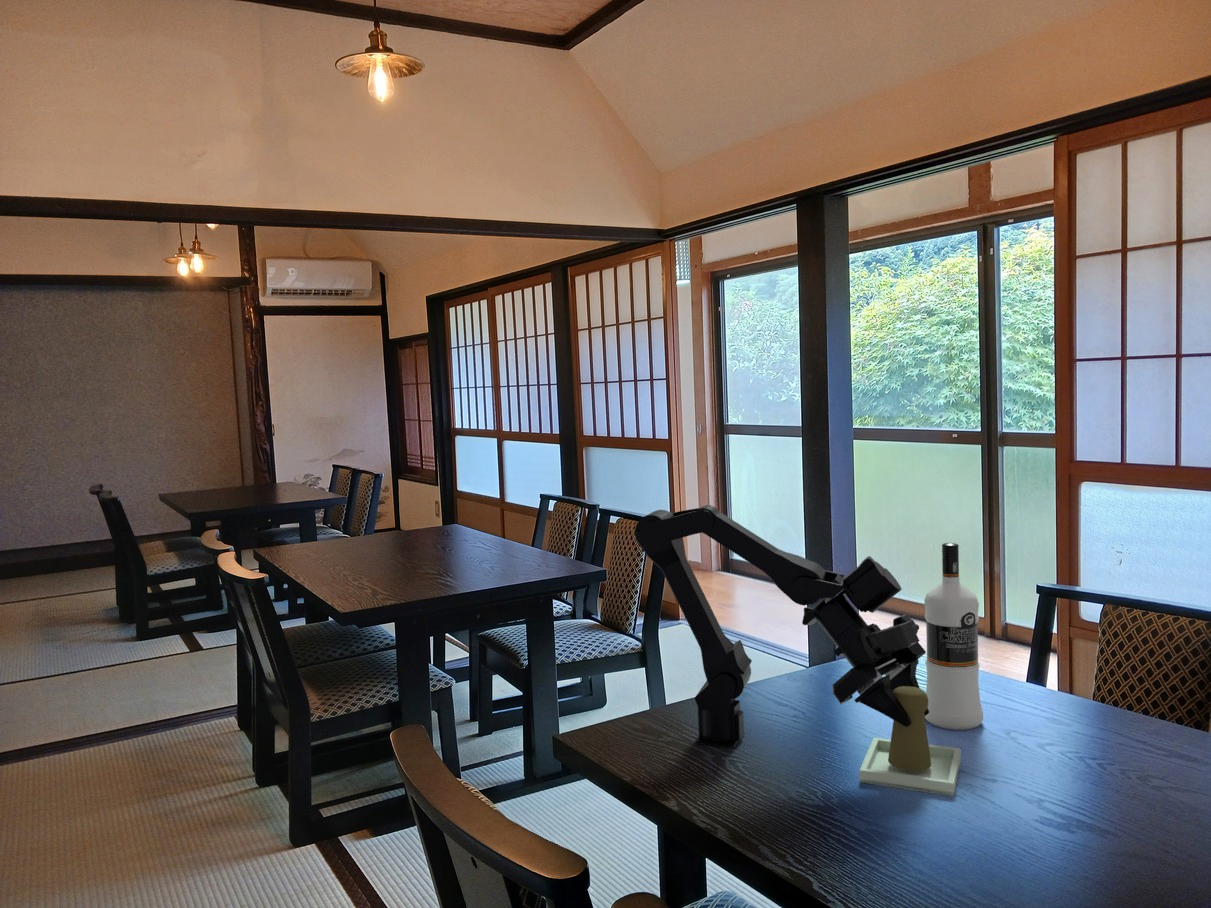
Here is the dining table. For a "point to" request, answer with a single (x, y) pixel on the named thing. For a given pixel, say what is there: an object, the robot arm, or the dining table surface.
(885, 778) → the tray
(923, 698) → the cork
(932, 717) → the vodka
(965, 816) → the dining table surface
